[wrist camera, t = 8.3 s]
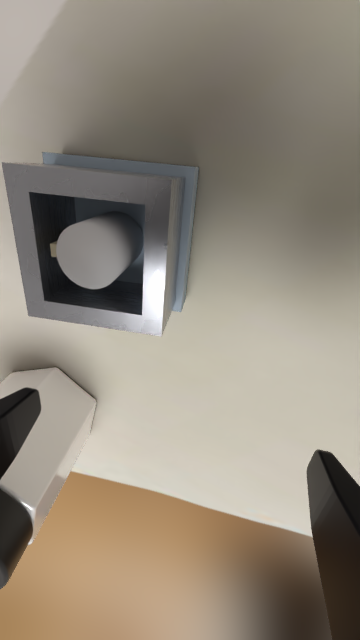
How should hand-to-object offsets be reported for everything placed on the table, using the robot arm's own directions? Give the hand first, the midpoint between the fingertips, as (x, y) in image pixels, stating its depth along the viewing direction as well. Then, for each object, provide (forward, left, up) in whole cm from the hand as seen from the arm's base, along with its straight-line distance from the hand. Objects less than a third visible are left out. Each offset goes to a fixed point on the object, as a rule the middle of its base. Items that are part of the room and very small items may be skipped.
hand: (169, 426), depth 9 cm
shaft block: (+5, -3, -12) cm, 13 cm away
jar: (+12, +13, -12) cm, 21 cm away
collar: (+5, -3, -10) cm, 11 cm away
